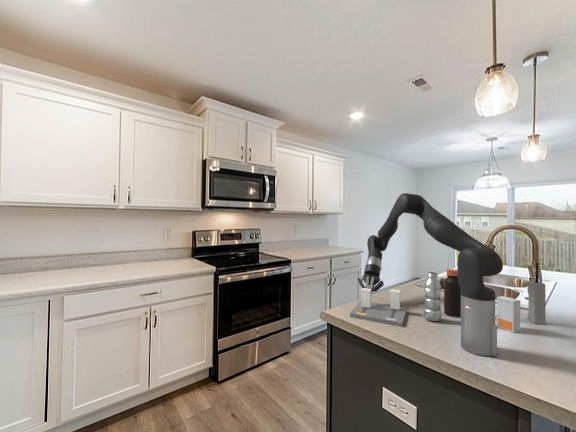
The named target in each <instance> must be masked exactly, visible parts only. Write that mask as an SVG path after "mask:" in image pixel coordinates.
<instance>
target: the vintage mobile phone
mask: <svg viewBox="0 0 576 432" xmlns="http://www.w3.org/2000/svg"><path fill="white" fill-rule="evenodd" d="M526 282H527V283H526V284H527V285H526V286H527V287H526V288H527V294H528V314H527V316H526V320H528V321H529V322H531V323H533V324H535V325H544V326H545V325H546V284H545V283H543V282H541V281H539V263H538V262H536V263H535V280H527V281H526Z"/></svg>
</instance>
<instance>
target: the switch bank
mask: <svg viewBox="0 0 576 432" xmlns="http://www.w3.org/2000/svg"><path fill="white" fill-rule="evenodd" d="M407 310H408V309H407V307H401V306H400V310H397V309H391V308H390V304H389V305H388V304H382V303H376V302H371V308H366V307H361V300H360V301H359V303H358V304H356V306H355V307H354V308H353V309H352V310H351V312H350V313H349V318H354V319H359V320H365V321H369V322H376V323H380V324H386V325H391V326H395V327H396V326H397V327H401V328H402V327H403V326H404V322H405V318H406V315H407V312H408V311H407Z"/></svg>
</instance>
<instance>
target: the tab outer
mask: <svg viewBox="0 0 576 432" xmlns="http://www.w3.org/2000/svg"><path fill="white" fill-rule="evenodd" d="M371 290H372V289H367V288H362V287H361V291H360V296H361V297H360V301H361V307H366V308H371V303H372V295H371Z"/></svg>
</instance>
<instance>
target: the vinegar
mask: <svg viewBox="0 0 576 432" xmlns="http://www.w3.org/2000/svg"><path fill="white" fill-rule="evenodd" d="M446 276H447V277H446V278H445V279H444V282H443V284H444V285H443V286H444V287H443V288H444V289H443V293H444V294H443V297H444V298H443V299H444V300H443V305H444V306H443V313H444V314H445V315H446V316H448V317H452V318H461V289H460V287H459V283H458V269H453V268H452V269H451V268H449V269H448V268H447V269H446Z"/></svg>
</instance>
